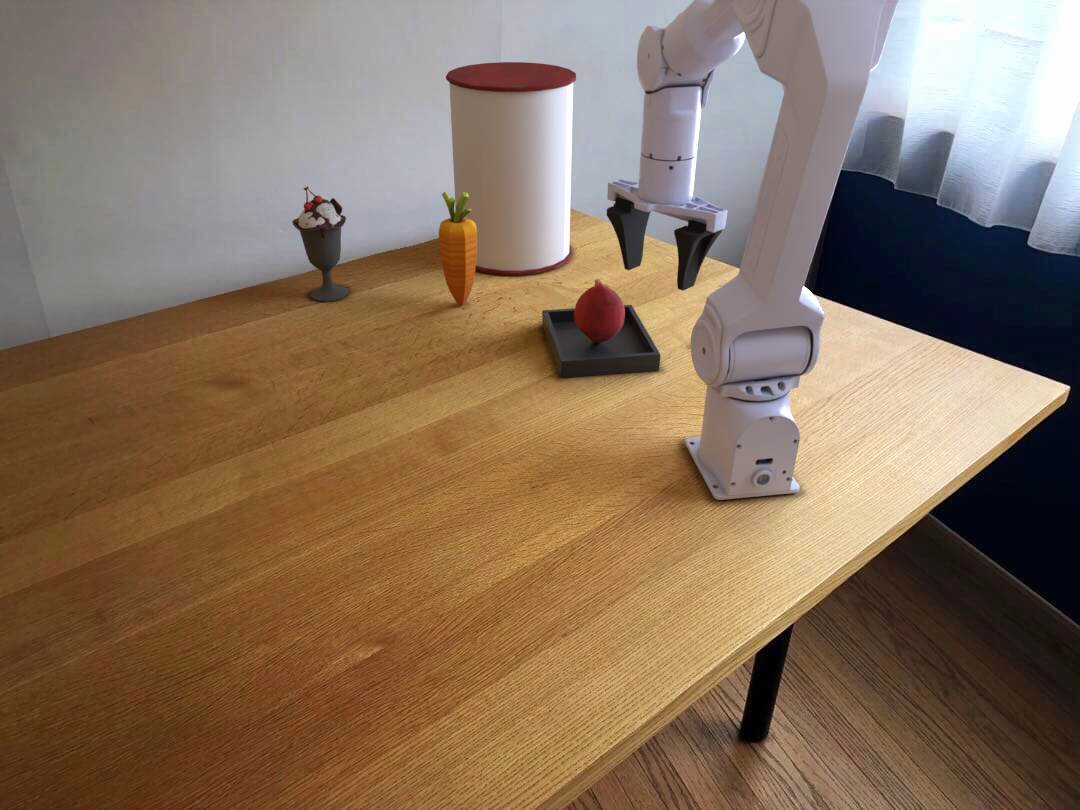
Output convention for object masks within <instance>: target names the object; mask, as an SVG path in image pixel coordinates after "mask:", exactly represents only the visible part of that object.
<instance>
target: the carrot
mask: <svg viewBox="0 0 1080 810" xmlns="http://www.w3.org/2000/svg"><path fill="white" fill-rule="evenodd" d="M441 196H442V198H443V199H444V202H445V204H446V207H447V210H448V213H449V218H446V219H444V220H442V221H441V222H440V223H439V226H438V227H439V228H438V243H439V244H438V245H439V252H440V262H441V267H442V271H443V275H444V279H445V282H446V286H447V288H448V290H449V292H450V295H451V296H452V297H453V299H454V301H455V303H456V304H457V305H459V306H461V307H462V306H463V305H464V304H466V302H467V300H468V298H469V297H470V294H471V291H472V288H473V286H474V281H475V275H476V270H475V269H476V258H477V228H476V224H475V222H474V221H472V220H470V219H467V218H464V217H465V216H466V215H467V214H468V213H469V212H470V211H471V209H470V208H467V209H465V210H464V211H463V212H462V210H463V208H464V206H465V204H466V202H467V200H468V198H469V195H468V194H467V193H465V192H463V193H462V194H461V196H460V198H459V201H458V203H457V206H456V209H455V197H450V196H449V194H448V192H447V191H443V192H442V193H441Z"/></svg>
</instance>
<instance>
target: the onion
mask: <svg viewBox="0 0 1080 810" xmlns="http://www.w3.org/2000/svg"><path fill="white" fill-rule="evenodd" d="M624 305H625V304H624V301H623V300H622V298H621V297H620V295H619V294H618V293H617V292H616V291H615V290H613V289H612V288H611V287H609V286H608V285H607V284H605V282H604V281H603V280H602V279H600V278H595V280H594V285H593V286H591V287H589V288H587V290H585V291H584V292H583V293H582V294H581V295H580V296H579V298H578V299H577V301H576V303H575V305H574V306H575V307H574V308H575V311H574V320H575V323H576V325H577V327H578V328H579V330H580V331H581V332H582V333H583V334H584V335H585V336H587V337H588V338H589V339H590V340H591V341H592V342H593V343H596V344H600V343H602V342H604V341H607V340H609V339H610V338H612V337H613V336H614V335H616V334H617V333H618V332H619V331H620V330H621V328H622V326H623V324H624V319H625V308H624Z"/></svg>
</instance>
